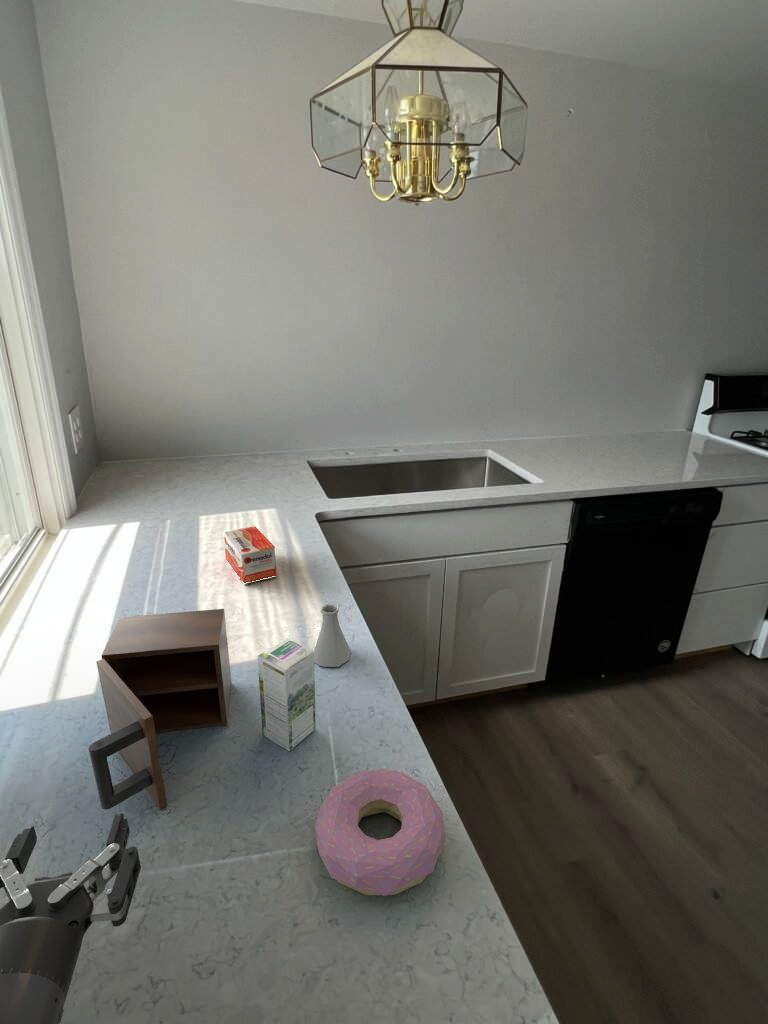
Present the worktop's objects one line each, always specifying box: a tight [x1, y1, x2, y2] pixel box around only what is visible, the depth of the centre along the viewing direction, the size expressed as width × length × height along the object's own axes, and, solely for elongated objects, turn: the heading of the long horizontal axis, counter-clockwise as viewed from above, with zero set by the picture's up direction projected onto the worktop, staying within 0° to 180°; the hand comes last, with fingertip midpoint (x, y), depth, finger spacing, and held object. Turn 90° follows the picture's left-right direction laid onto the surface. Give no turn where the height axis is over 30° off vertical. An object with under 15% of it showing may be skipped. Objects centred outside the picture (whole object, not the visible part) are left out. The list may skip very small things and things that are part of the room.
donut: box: [313, 768, 446, 897], centre depth 66 cm, size 16×15×5 cm
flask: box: [312, 603, 351, 668], centre depth 99 cm, size 7×7×10 cm
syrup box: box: [257, 637, 317, 752], centre depth 80 cm, size 6×6×14 cm
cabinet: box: [101, 608, 233, 735], centre depth 85 cm, size 10×16×15 cm, turn 101°
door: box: [87, 658, 168, 811], centre depth 71 cm, size 7×16×14 cm, turn 45°
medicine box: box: [223, 526, 277, 583], centre depth 132 cm, size 15×8×8 cm, turn 31°
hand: (76, 825), depth 58 cm, fingers open, 8 cm apart
